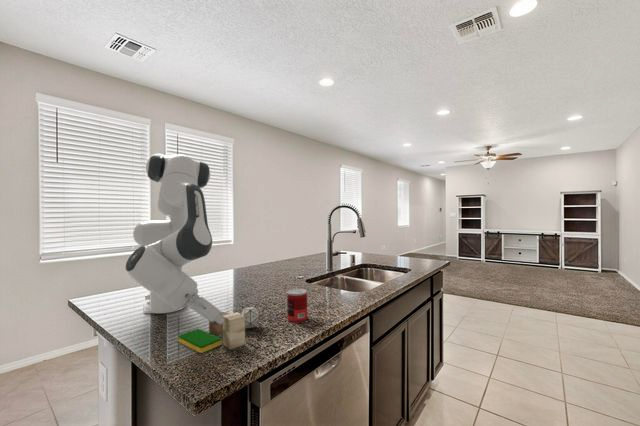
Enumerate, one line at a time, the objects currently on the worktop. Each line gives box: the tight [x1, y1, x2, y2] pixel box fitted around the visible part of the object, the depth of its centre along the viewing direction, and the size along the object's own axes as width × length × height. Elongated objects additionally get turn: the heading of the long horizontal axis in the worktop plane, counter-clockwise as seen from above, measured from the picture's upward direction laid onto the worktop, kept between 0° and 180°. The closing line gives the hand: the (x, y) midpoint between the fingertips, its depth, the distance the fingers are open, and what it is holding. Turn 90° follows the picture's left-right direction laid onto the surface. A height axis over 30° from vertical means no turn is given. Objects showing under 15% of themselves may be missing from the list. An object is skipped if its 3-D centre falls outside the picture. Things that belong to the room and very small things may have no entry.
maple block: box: [222, 312, 246, 350], centre depth 93 cm, size 5×5×9 cm
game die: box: [240, 304, 263, 330], centre depth 105 cm, size 9×8×10 cm
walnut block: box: [208, 310, 230, 336], centre depth 103 cm, size 5×5×6 cm
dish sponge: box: [177, 328, 222, 354], centre depth 94 cm, size 7×14×2 cm, turn 53°
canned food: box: [286, 288, 308, 324], centre depth 114 cm, size 8×8×11 cm
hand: (215, 317), depth 89 cm, fingers open, 8 cm apart
